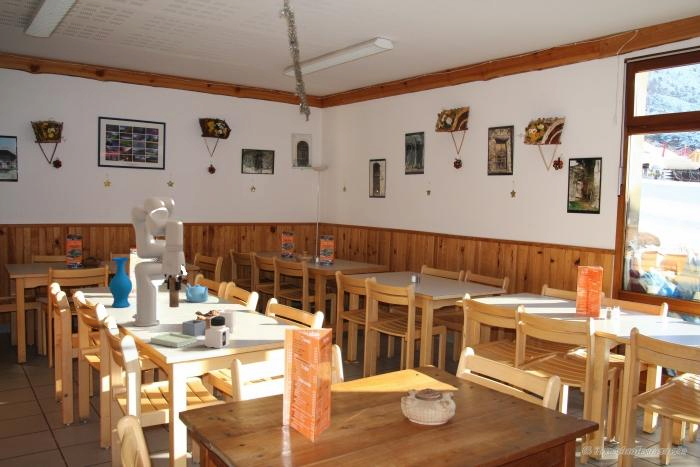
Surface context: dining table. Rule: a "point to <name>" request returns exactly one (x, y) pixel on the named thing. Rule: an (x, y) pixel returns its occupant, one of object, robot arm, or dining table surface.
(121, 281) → the vase
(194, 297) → the teapot
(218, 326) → the container
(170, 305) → the walnut dowel
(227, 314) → the white cup
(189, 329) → the blue-grey block
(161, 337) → the sage tray
